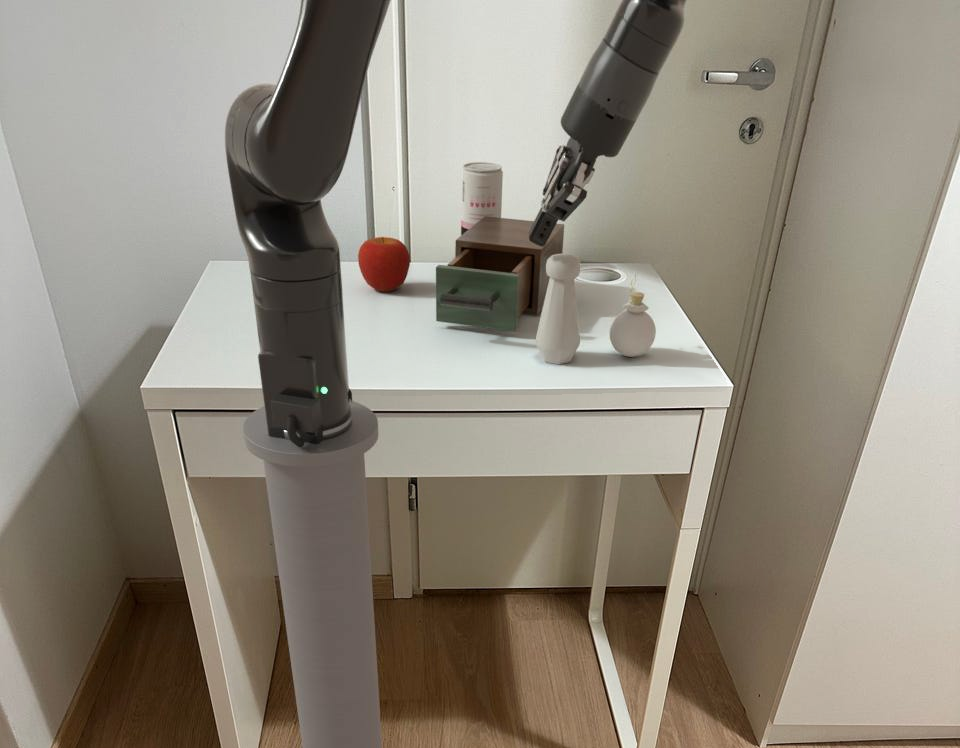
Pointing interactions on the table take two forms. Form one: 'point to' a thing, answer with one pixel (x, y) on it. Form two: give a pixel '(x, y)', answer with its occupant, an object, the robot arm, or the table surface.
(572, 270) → the salt shaker
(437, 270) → the drawer
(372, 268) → the apple
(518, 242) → the cabinet
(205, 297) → the table surface
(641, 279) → the table surface
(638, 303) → the ornament
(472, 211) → the beverage can
